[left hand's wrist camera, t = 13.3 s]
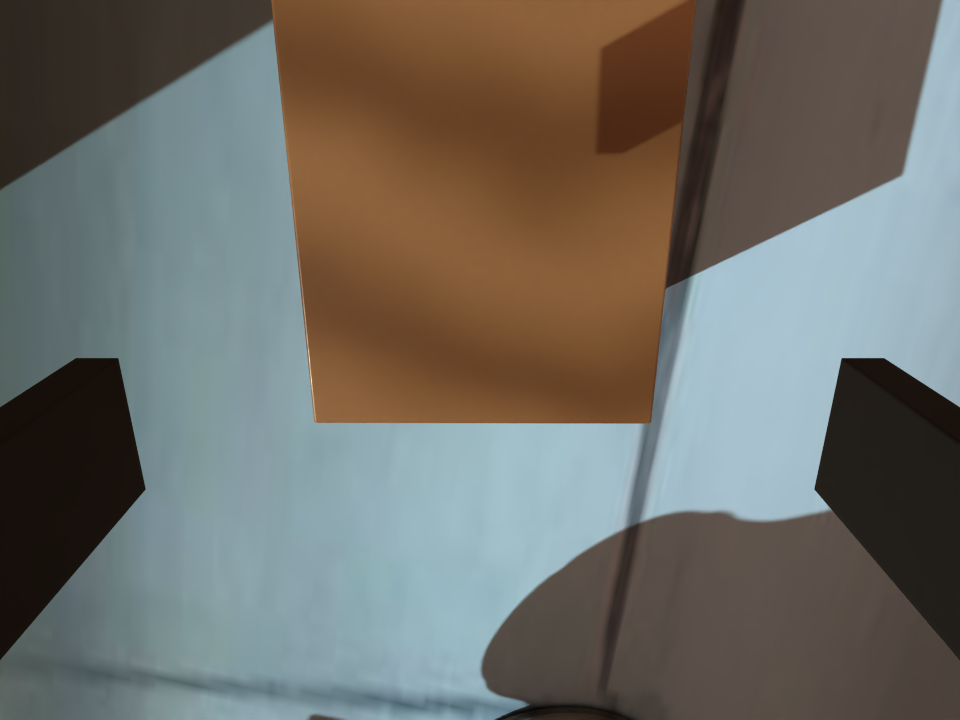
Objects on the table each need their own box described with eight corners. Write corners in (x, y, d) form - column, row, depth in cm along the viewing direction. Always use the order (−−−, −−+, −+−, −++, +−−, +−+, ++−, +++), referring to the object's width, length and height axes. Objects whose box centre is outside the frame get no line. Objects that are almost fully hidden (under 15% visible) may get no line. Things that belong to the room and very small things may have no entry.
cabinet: (329, -207, 24) (228, -400, 15) (637, -207, 24) (740, -401, 15) (365, 320, 32) (313, 423, 22) (600, 321, 32) (651, 424, 22)
